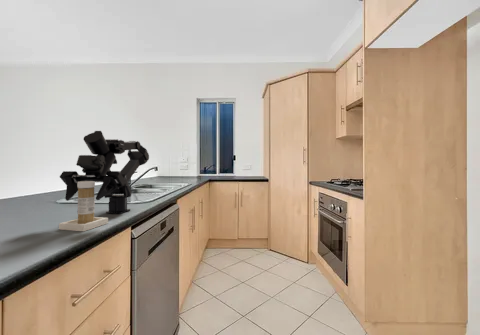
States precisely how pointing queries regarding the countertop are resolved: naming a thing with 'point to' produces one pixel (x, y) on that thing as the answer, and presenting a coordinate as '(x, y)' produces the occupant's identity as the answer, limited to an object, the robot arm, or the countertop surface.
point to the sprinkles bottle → (86, 201)
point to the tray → (82, 227)
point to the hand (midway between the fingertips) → (81, 199)
